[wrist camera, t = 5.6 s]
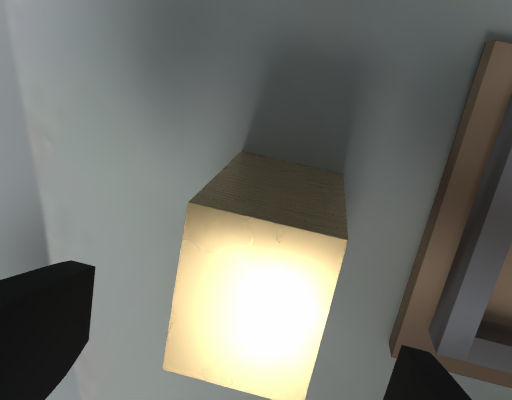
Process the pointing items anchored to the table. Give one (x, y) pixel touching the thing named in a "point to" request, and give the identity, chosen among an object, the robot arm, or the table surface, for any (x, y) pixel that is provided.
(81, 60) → the table surface
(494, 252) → the framed wooden tray
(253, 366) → the block
